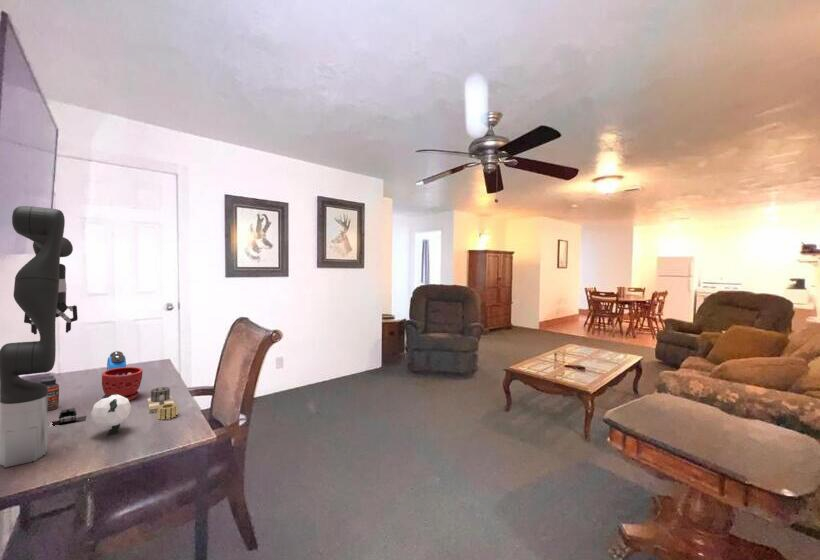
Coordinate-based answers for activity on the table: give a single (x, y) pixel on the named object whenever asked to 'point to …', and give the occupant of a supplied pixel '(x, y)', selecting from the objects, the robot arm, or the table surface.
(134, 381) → the plant pot
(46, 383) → the supplement bottle
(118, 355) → the alarm clock
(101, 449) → the table surface
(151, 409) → the gear board
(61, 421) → the black flared hood
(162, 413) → the brass gear
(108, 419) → the figurine
